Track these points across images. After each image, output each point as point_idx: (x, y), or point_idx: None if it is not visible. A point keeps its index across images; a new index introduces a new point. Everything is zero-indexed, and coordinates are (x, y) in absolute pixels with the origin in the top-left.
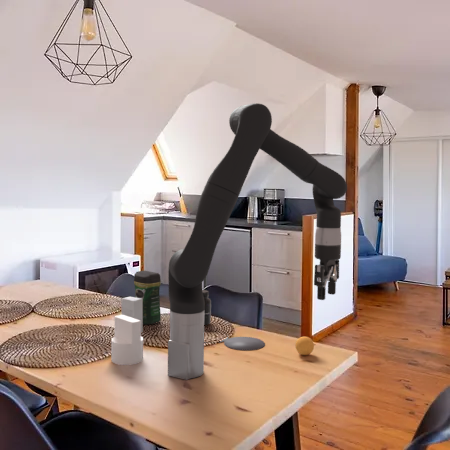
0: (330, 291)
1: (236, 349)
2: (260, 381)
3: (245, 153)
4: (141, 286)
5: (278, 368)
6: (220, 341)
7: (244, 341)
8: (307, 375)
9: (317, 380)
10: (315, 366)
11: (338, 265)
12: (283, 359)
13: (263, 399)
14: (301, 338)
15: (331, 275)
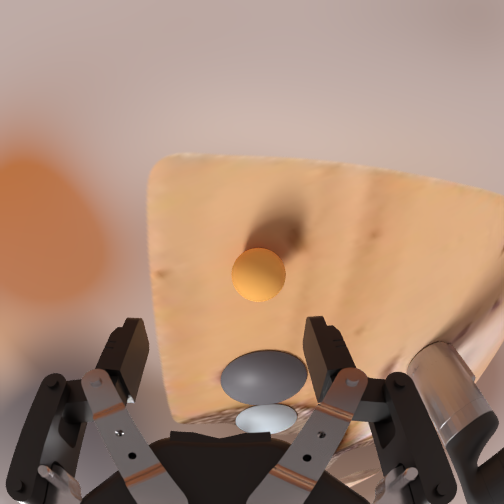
0: (142, 346)
1: (306, 374)
2: (438, 267)
3: None
4: None
5: (373, 271)
6: (281, 405)
7: (255, 384)
8: (386, 203)
9: (402, 174)
10: (324, 207)
11: (26, 459)
12: (316, 287)
13: (486, 231)
14: (271, 292)
15: (189, 439)
